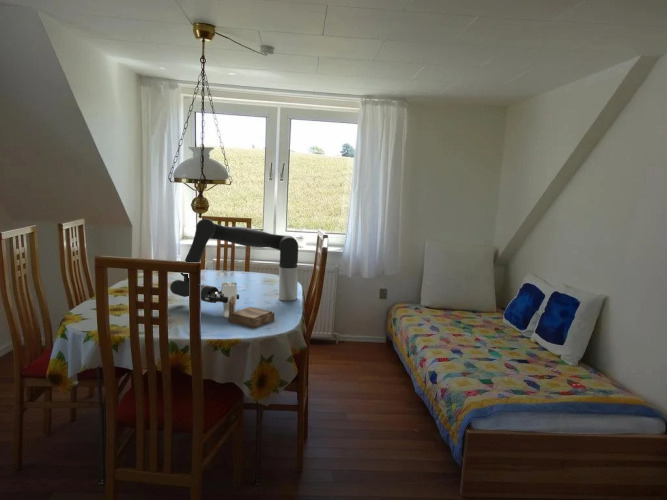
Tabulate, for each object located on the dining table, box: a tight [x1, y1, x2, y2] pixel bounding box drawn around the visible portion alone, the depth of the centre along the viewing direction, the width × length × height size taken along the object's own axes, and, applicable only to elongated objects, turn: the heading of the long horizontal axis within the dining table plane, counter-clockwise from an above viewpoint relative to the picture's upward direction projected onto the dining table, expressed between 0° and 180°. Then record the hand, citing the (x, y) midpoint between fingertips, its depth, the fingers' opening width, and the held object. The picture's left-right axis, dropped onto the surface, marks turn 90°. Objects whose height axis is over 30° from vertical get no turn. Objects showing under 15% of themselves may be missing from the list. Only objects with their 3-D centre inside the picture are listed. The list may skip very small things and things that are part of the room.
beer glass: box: [220, 281, 238, 319], centre depth 201 cm, size 7×7×15 cm
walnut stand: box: [228, 306, 275, 329], centre depth 195 cm, size 14×14×4 cm
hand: (233, 298), depth 200 cm, fingers open, 7 cm apart
